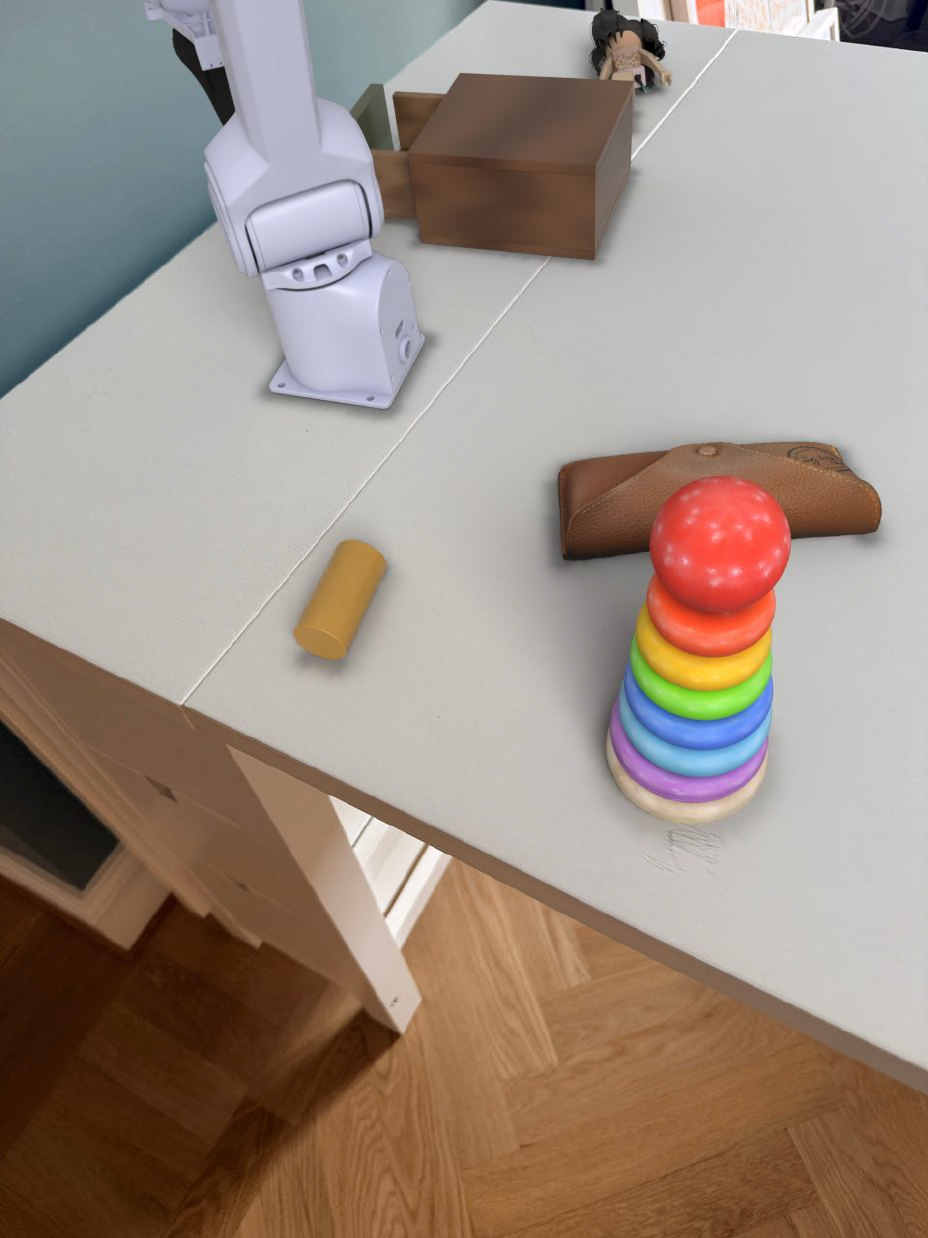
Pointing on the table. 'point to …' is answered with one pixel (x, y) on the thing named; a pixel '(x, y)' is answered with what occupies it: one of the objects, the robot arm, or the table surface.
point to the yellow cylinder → (340, 600)
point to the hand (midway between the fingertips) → (240, 127)
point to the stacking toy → (702, 655)
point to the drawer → (377, 132)
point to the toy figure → (627, 50)
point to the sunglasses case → (642, 482)
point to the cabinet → (523, 163)
